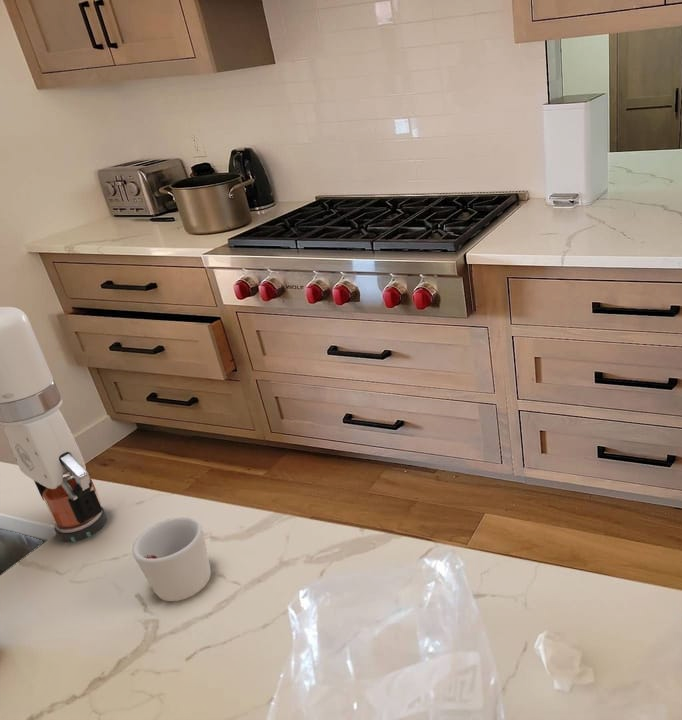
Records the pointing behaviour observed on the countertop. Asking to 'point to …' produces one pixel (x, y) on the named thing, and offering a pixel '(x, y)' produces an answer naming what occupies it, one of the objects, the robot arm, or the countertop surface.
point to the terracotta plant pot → (62, 505)
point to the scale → (81, 528)
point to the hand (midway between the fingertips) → (72, 506)
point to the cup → (174, 558)
